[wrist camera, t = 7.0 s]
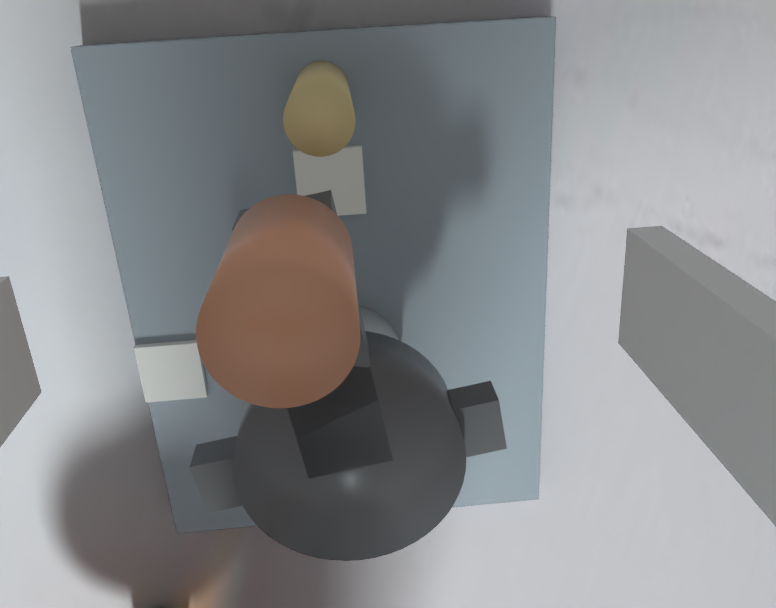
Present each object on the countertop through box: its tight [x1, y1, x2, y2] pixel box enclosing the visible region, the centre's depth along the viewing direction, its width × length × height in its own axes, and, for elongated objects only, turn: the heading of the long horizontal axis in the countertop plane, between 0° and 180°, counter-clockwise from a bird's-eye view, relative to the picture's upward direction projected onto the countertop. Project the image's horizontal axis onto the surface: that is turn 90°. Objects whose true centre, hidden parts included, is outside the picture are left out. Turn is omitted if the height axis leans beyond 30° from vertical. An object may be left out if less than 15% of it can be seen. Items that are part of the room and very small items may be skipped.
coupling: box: [189, 190, 507, 561], centre depth 19 cm, size 12×10×7 cm
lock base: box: [70, 16, 556, 533], centre depth 25 cm, size 20×16×8 cm
